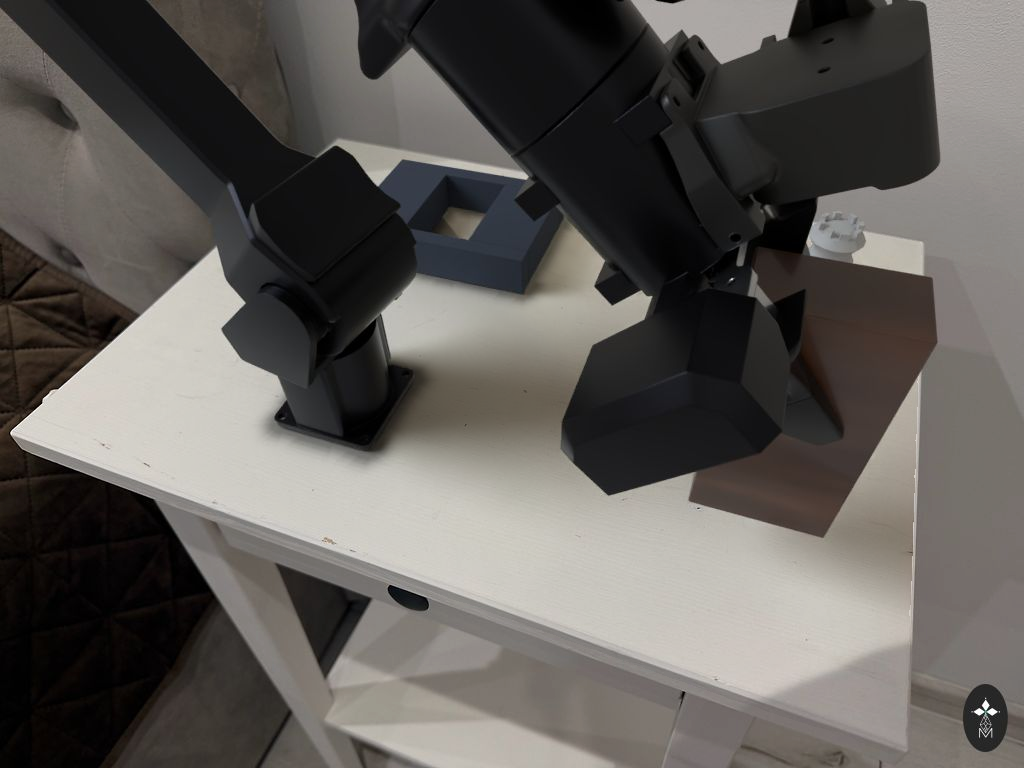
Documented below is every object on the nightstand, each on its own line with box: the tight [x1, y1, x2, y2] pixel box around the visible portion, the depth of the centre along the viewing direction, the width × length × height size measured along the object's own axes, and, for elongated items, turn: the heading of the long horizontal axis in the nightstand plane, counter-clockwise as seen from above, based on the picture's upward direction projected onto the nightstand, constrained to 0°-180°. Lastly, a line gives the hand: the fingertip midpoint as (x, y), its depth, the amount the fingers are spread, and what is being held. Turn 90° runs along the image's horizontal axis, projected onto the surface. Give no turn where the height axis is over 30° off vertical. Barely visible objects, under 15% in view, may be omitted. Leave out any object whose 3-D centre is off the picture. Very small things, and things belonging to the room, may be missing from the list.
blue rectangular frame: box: [377, 158, 565, 295], centre depth 53 cm, size 10×14×3 cm
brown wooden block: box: [687, 247, 939, 539], centre depth 28 cm, size 4×6×12 cm, turn 70°
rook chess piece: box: [808, 210, 867, 263], centre depth 44 cm, size 4×4×8 cm
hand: (834, 404), depth 27 cm, fingers closed on brown wooden block, 3 cm apart
